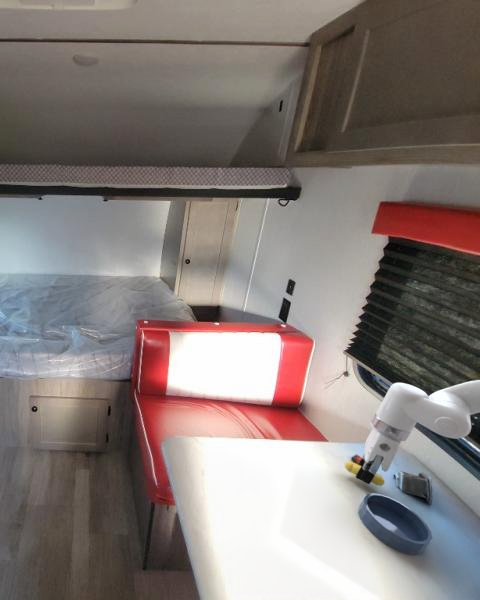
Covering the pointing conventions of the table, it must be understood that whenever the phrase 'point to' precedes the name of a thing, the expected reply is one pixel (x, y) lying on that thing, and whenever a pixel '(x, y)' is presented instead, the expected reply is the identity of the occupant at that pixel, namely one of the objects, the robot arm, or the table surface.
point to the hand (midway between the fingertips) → (362, 476)
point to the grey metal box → (415, 484)
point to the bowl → (394, 524)
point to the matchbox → (356, 458)
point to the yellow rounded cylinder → (355, 468)
